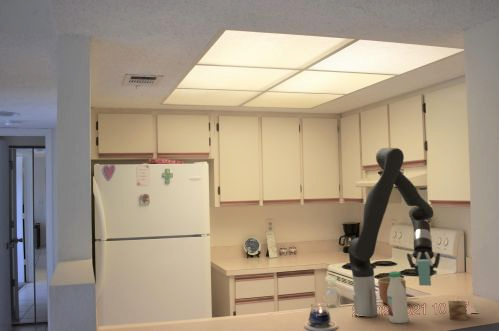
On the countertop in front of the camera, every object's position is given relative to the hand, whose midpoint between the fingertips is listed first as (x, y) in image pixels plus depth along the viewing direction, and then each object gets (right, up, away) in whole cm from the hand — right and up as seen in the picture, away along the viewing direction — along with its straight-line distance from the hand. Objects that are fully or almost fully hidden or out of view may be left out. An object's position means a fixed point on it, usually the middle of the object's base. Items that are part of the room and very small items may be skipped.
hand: (424, 275), depth 204 cm
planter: (-5, -19, +26) cm, 33 cm away
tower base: (+13, -17, -3) cm, 21 cm away
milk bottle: (-11, -19, -1) cm, 22 cm away
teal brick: (+1, -4, +2) cm, 5 cm away
